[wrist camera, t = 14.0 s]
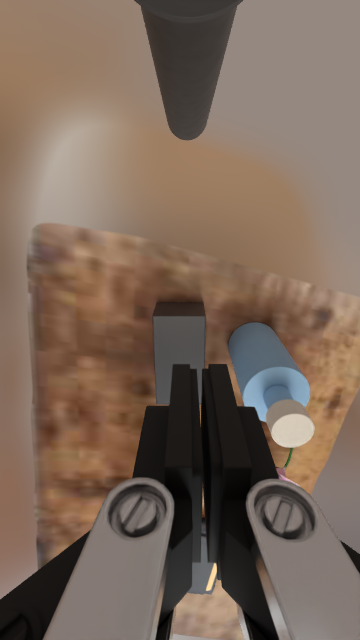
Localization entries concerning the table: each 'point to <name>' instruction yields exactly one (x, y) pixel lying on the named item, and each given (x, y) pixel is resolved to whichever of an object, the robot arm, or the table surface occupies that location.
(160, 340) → the block
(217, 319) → the table surface
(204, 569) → the wallet
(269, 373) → the bottle
